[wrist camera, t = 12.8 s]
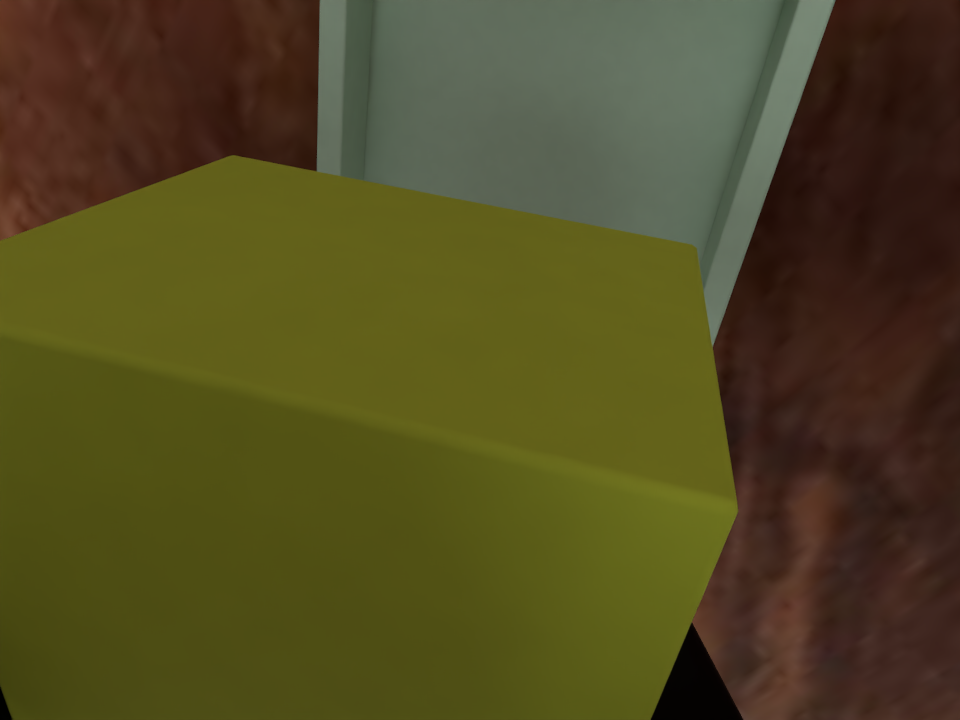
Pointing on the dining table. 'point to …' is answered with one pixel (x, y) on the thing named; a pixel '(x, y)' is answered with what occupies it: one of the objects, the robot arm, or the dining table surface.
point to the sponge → (349, 457)
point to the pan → (574, 109)
